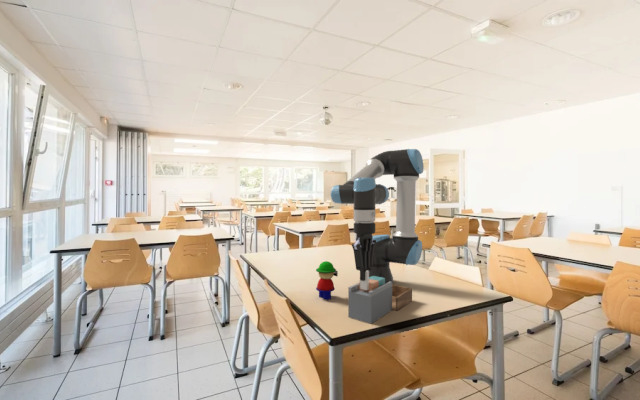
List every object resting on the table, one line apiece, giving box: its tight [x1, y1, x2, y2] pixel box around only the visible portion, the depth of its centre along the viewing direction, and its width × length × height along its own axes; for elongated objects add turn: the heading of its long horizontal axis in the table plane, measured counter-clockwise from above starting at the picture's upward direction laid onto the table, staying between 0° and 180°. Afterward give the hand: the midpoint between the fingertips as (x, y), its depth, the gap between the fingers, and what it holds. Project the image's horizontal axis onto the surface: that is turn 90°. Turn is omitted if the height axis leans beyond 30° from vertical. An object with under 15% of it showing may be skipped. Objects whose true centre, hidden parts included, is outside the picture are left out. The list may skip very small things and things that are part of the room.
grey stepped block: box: [347, 281, 393, 324], centre depth 110 cm, size 9×16×10 cm, turn 141°
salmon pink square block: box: [358, 279, 379, 292], centre depth 109 cm, size 5×5×3 cm
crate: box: [391, 284, 413, 312], centre depth 121 cm, size 13×14×5 cm
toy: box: [315, 260, 338, 301], centre depth 128 cm, size 9×9×15 cm
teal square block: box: [369, 276, 385, 286], centre depth 112 cm, size 5×5×3 cm
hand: (364, 288), depth 106 cm, fingers closed
